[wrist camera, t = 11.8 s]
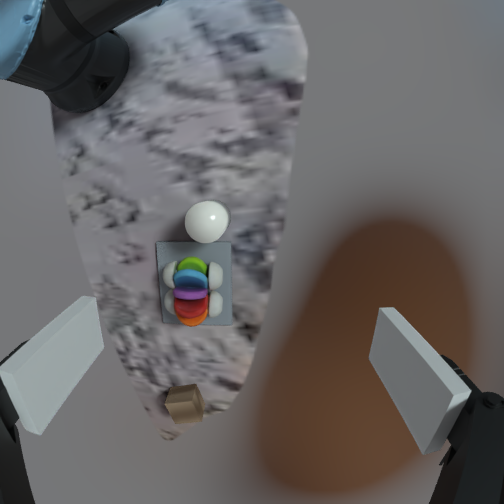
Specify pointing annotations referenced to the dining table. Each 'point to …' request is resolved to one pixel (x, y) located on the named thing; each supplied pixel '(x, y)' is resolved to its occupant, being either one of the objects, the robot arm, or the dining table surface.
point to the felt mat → (207, 254)
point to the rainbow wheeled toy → (193, 290)
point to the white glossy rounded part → (207, 221)
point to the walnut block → (185, 404)
